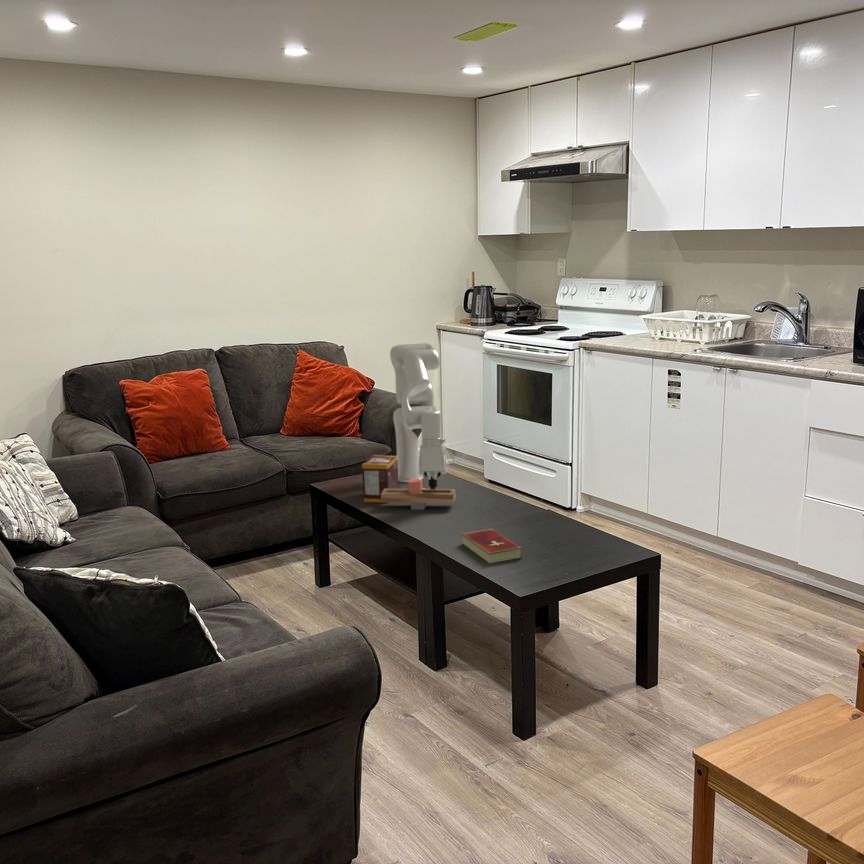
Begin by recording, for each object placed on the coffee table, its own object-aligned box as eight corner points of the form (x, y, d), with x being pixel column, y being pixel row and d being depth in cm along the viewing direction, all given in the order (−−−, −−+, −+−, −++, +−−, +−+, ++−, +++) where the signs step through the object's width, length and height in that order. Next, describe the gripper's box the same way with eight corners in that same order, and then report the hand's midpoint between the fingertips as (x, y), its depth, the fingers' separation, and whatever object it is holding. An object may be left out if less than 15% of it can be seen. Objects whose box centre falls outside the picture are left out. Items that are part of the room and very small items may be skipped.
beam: (385, 503, 337) (384, 487, 336) (455, 504, 334) (455, 488, 332) (381, 509, 330) (380, 493, 328) (453, 510, 326) (453, 494, 325)
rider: (411, 493, 334) (410, 478, 333) (422, 493, 333) (422, 478, 332) (409, 497, 328) (408, 482, 327) (420, 497, 328) (419, 482, 326)
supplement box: (399, 492, 352) (397, 455, 349) (388, 503, 338) (386, 464, 335) (375, 491, 355) (373, 454, 352) (363, 502, 340) (361, 464, 337)
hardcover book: (493, 539, 294) (493, 527, 293) (522, 559, 275) (522, 546, 274) (461, 544, 290) (461, 533, 289) (488, 565, 271) (488, 552, 270)
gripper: (452, 440, 328) (453, 486, 332) (413, 440, 330) (415, 485, 334) (449, 444, 321) (451, 491, 325) (410, 444, 323) (412, 491, 327)
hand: (433, 488), depth 329 cm, fingers closed
